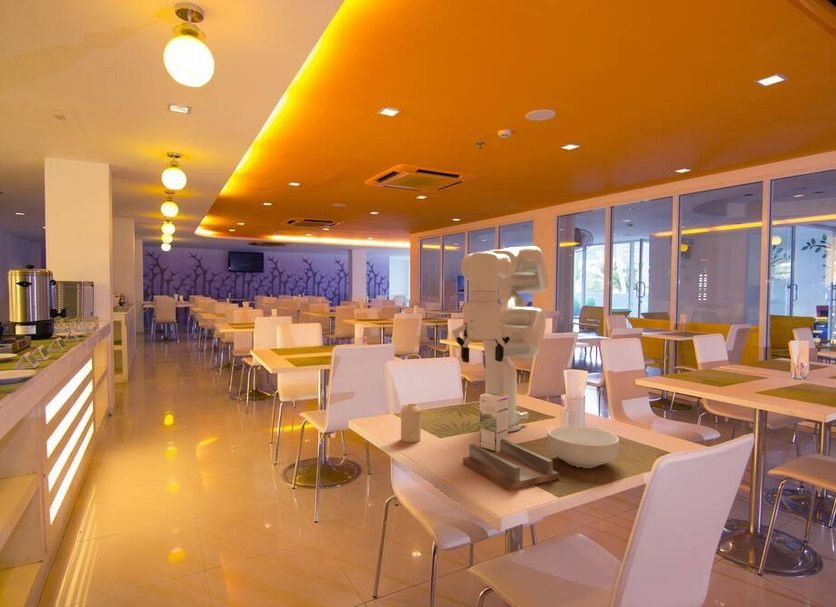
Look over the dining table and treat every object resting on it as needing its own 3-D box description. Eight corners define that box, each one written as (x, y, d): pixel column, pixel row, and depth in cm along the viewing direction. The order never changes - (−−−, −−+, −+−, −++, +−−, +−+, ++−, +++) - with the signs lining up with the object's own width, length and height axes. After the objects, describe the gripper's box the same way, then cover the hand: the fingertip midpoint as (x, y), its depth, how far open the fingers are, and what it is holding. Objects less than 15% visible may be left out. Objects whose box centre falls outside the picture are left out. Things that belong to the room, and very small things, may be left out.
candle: (418, 443, 138) (418, 407, 137) (398, 442, 139) (399, 406, 138) (422, 437, 143) (422, 403, 143) (403, 436, 144) (403, 402, 144)
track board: (509, 455, 128) (509, 438, 128) (558, 479, 112) (559, 459, 112) (463, 463, 122) (463, 445, 122) (508, 490, 106) (508, 469, 106)
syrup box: (508, 447, 134) (509, 394, 134) (496, 452, 130) (496, 397, 130) (491, 443, 138) (491, 391, 138) (478, 447, 134) (478, 394, 134)
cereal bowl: (634, 471, 117) (634, 441, 117) (572, 478, 113) (573, 447, 112) (589, 449, 134) (590, 423, 134) (534, 454, 129) (534, 427, 129)
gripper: (506, 298, 141) (505, 359, 141) (448, 297, 136) (447, 360, 136) (518, 298, 133) (517, 362, 134) (458, 297, 129) (457, 364, 129)
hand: (482, 361), depth 135 cm, fingers open, 9 cm apart
